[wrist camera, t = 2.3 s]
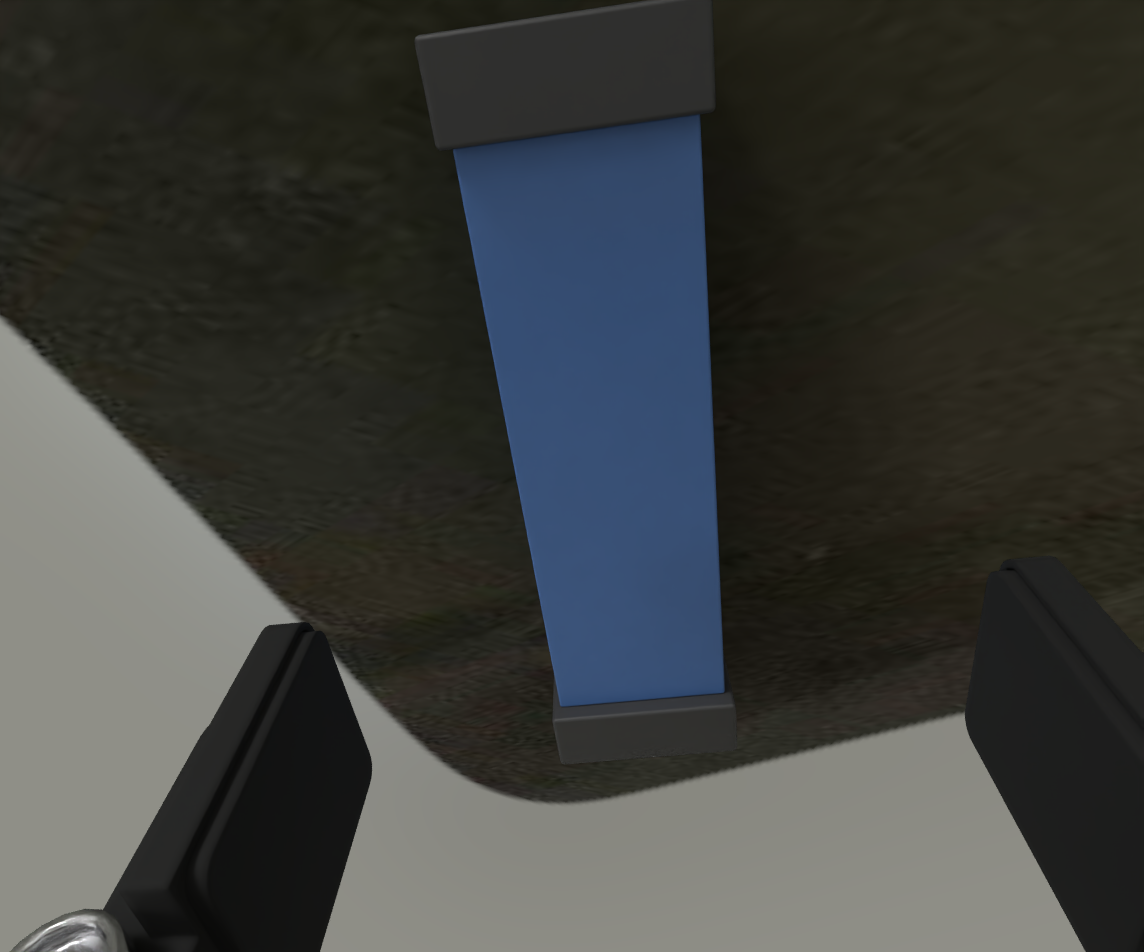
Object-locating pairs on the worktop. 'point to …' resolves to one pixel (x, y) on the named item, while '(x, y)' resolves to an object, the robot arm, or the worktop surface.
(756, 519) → the worktop surface
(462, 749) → the worktop surface
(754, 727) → the worktop surface
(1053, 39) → the worktop surface
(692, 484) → the handle
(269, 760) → the robot arm
